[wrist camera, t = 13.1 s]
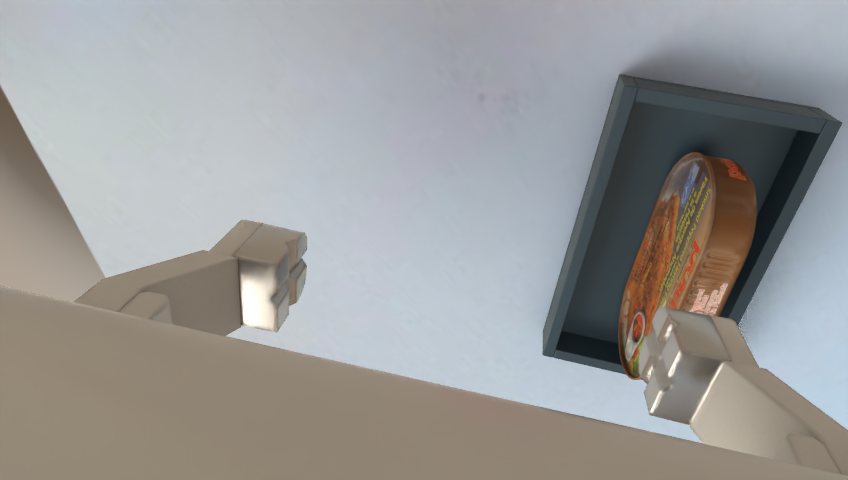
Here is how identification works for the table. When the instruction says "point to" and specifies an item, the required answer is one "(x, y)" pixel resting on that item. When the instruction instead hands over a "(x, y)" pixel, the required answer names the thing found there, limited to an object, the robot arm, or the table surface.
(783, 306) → the table surface
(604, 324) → the tray
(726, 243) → the tin
